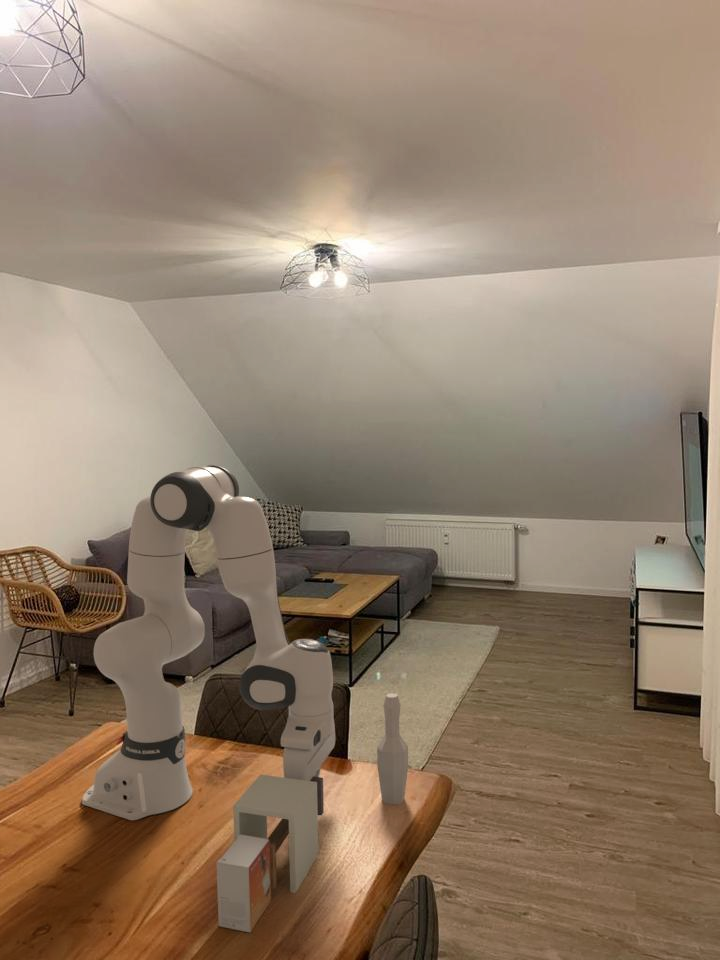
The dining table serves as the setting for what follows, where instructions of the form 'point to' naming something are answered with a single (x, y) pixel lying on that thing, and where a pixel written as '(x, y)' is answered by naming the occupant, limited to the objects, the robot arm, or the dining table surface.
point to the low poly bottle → (392, 755)
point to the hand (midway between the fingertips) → (312, 789)
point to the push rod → (283, 831)
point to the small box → (243, 883)
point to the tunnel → (286, 803)
